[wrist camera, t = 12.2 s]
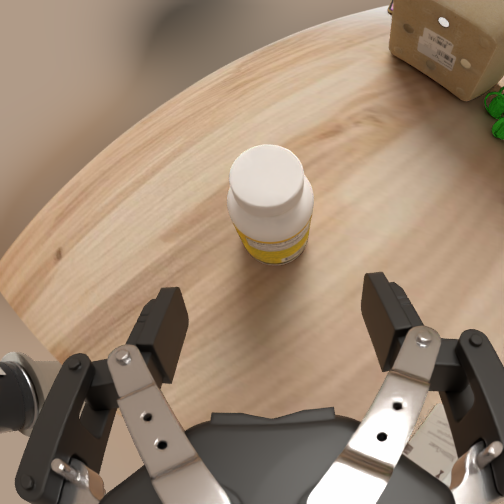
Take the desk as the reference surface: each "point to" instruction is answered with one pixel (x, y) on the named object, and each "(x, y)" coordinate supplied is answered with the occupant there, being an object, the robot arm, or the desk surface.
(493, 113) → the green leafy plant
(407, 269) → the desk surface
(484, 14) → the flower pot
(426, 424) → the cosmetic box
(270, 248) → the supplement bottle
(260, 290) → the desk surface
